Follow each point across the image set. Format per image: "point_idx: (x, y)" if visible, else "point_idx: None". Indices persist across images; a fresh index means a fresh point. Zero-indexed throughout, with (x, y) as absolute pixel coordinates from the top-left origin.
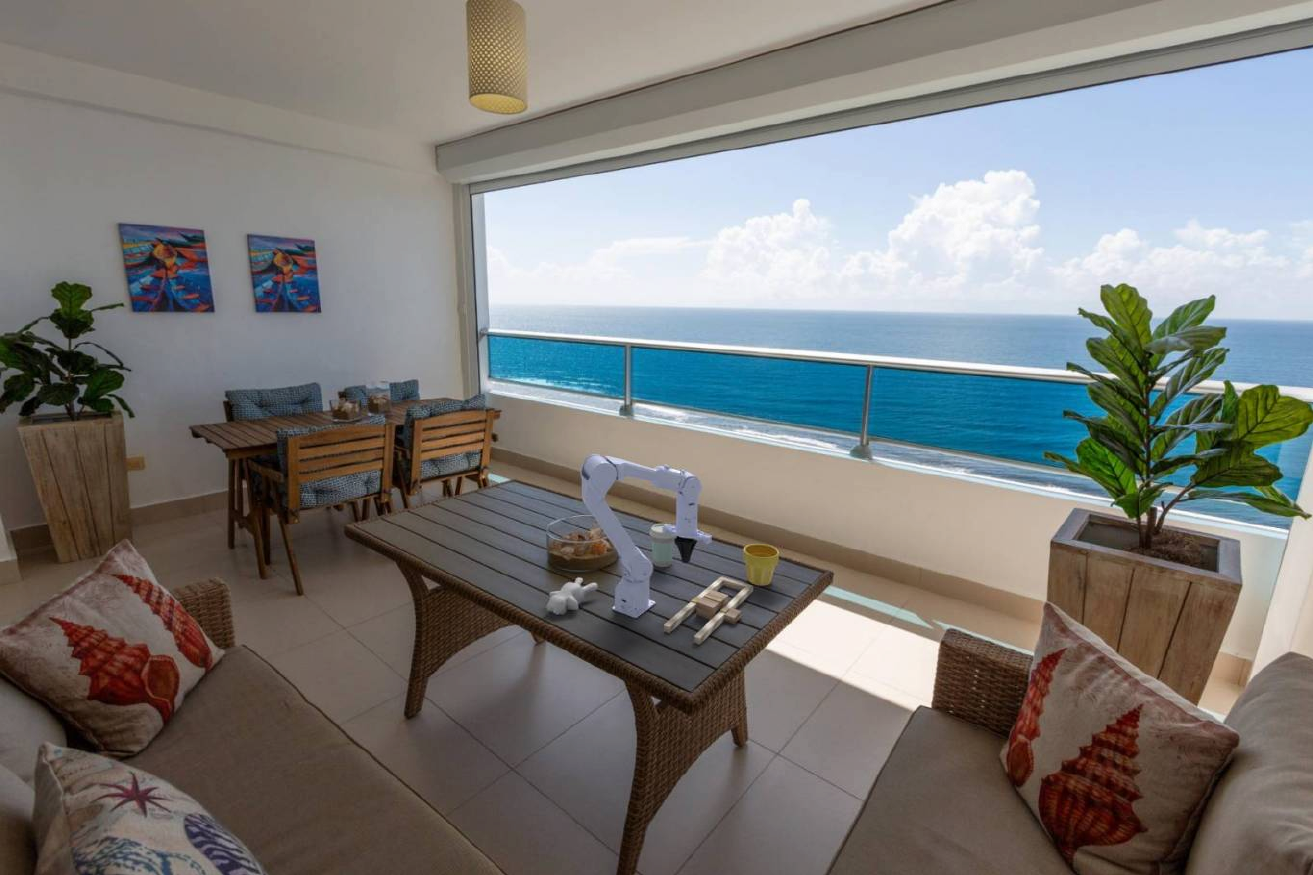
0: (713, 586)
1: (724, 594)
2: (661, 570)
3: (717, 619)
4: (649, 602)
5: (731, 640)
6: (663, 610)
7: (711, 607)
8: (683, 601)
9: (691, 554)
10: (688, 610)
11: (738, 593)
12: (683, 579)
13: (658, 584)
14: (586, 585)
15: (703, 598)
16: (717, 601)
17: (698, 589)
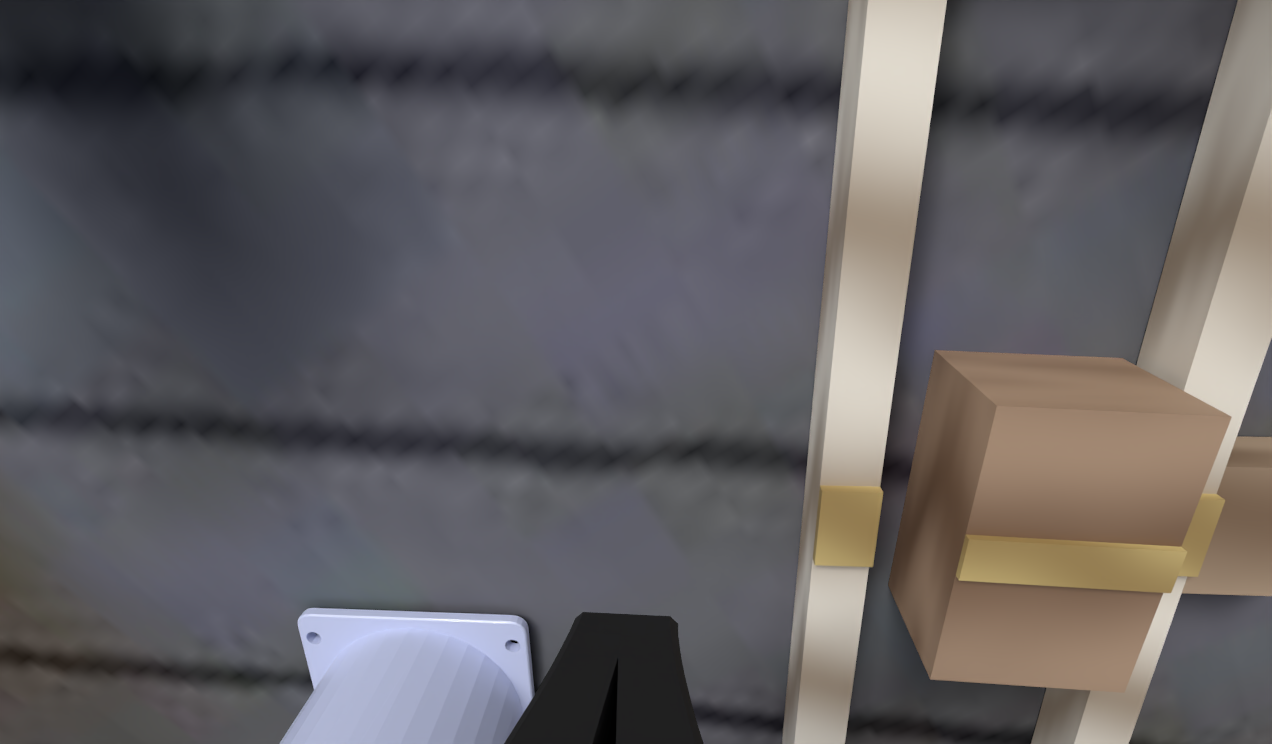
0: (900, 156)
1: (1179, 421)
2: (108, 40)
3: (1140, 678)
4: (491, 652)
5: (1255, 726)
6: None
7: (1099, 689)
8: (693, 473)
9: (695, 723)
10: (852, 674)
11: (1266, 128)
12: (441, 81)
13: (323, 341)
14: None
15: (969, 605)
16: (1134, 586)
17: (704, 192)
